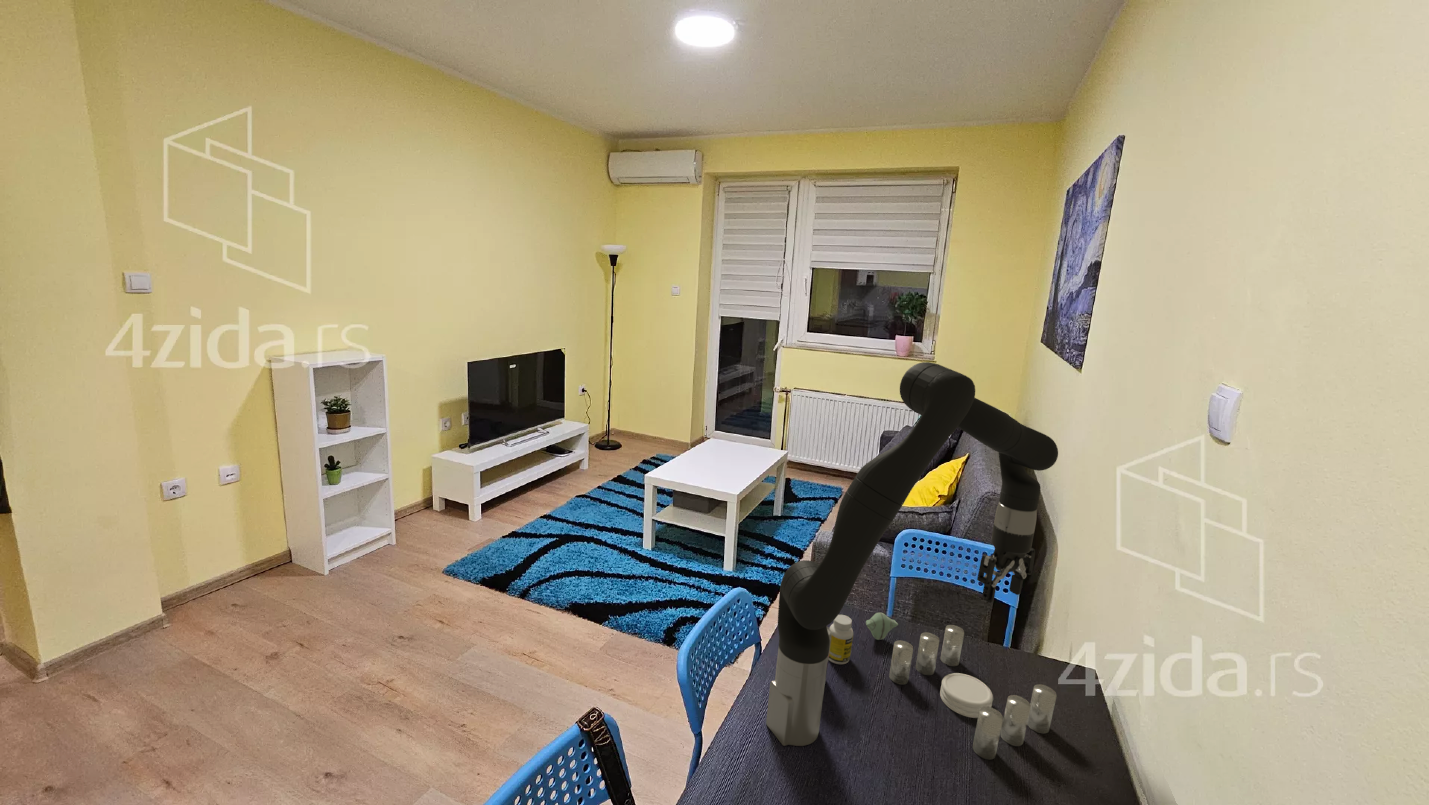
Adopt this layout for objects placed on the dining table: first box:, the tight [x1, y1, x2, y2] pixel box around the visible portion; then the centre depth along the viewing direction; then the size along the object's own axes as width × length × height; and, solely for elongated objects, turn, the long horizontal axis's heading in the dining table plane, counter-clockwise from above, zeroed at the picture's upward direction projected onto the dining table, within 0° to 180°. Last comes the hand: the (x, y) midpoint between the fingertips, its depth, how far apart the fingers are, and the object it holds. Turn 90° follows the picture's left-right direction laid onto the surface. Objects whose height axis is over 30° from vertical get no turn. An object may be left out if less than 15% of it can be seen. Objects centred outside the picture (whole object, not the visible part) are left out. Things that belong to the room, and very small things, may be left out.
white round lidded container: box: [939, 672, 994, 719], centre depth 125 cm, size 10×10×4 cm
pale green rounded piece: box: [865, 612, 899, 641], centre depth 144 cm, size 8×4×7 cm, turn 98°
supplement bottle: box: [828, 614, 854, 665], centre depth 135 cm, size 5×5×10 cm
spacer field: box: [888, 624, 1058, 761], centre depth 124 cm, size 20×26×8 cm
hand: (1001, 596), depth 126 cm, fingers open, 8 cm apart
